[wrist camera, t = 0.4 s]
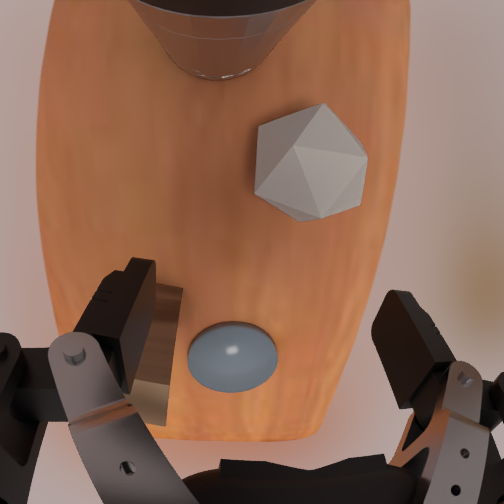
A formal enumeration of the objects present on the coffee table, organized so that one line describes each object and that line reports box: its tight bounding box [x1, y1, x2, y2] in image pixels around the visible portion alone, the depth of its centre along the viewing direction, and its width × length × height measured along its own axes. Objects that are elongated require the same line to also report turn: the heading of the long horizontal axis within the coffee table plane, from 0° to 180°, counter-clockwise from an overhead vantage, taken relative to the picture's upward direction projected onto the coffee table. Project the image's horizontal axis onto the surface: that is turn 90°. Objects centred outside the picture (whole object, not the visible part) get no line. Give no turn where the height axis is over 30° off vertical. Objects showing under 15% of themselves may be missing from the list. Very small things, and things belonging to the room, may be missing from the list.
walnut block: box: [123, 283, 183, 426], centre depth 25 cm, size 5×5×13 cm
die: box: [254, 103, 368, 222], centre depth 24 cm, size 8×9×10 cm
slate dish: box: [188, 322, 278, 393], centre depth 35 cm, size 10×10×1 cm
